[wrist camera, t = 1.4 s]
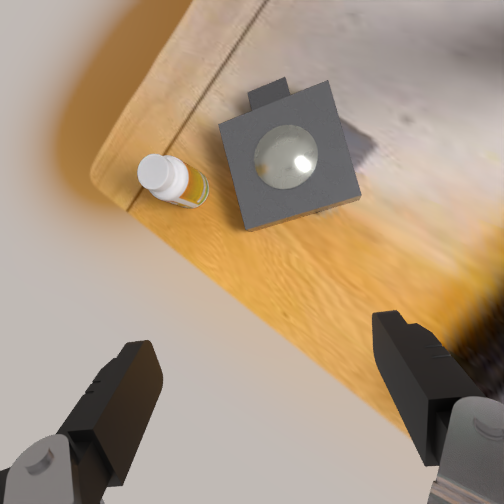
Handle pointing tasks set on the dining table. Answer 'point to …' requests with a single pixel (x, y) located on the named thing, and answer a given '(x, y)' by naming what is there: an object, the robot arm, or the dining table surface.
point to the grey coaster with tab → (288, 155)
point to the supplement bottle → (173, 180)
